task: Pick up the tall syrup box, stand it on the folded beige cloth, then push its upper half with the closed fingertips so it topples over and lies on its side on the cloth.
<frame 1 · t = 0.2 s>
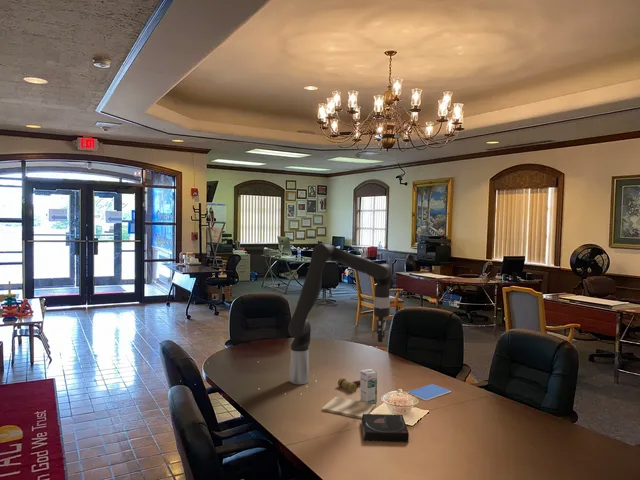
hand: (381, 339, 219), 28 cm above the table, fingers open, 8 cm apart
tablet computer: (429, 394, 226), on the table
portable cd player: (383, 433, 184), on the table
gavel: (359, 386, 235), on the table
folded beige cloth: (349, 408, 206), on the table
syrup box: (368, 401, 215), on the table
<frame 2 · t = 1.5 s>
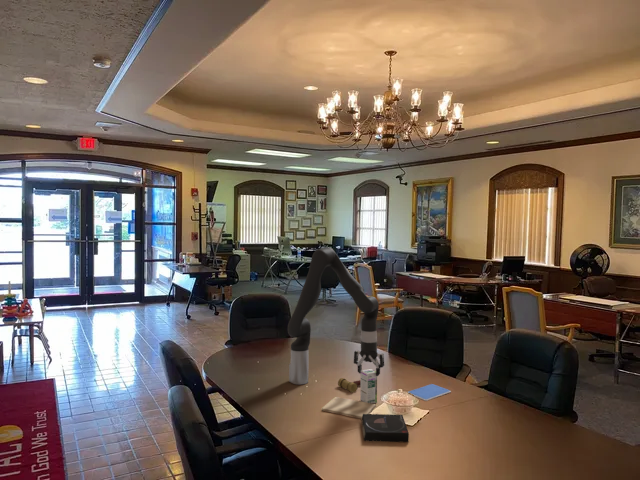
hand: (368, 374, 214), 13 cm above the table, fingers open, 8 cm apart
nothing on the table moved.
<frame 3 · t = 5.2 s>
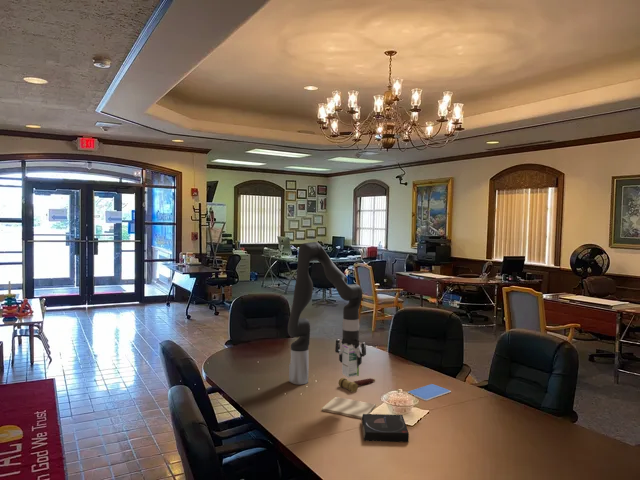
hand: (350, 363, 209), 19 cm above the table, fingers closed on syrup box, 8 cm apart
syrup box: (350, 375, 209), point 14 cm above the table, touching gripper
when the fingers open (7 cm above the table, at t = 8.1 s): syrup box stays where it is, resting on folded beige cloth.
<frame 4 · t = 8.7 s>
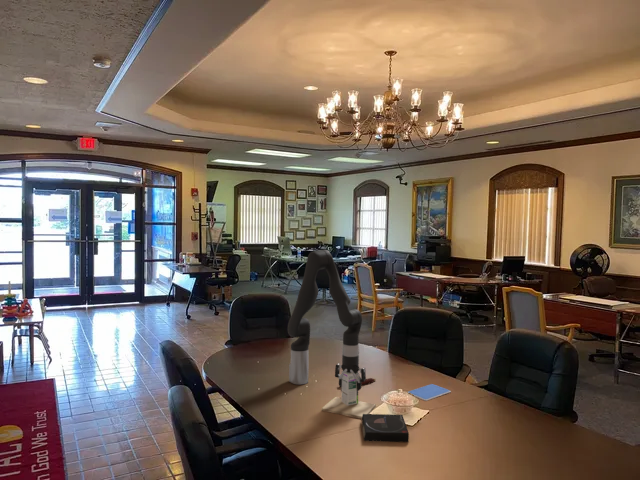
hand: (350, 388, 210), 8 cm above the table, fingers open, 8 cm apart
syrup box: (349, 403, 210), point 1 cm above the table, touching gripper, folded beige cloth
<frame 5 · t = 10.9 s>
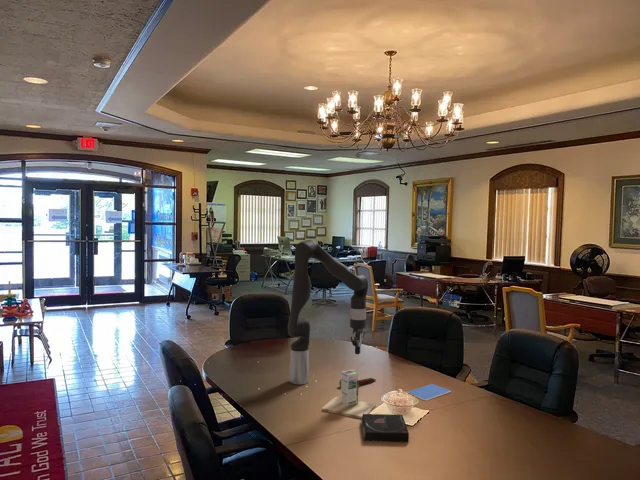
hand: (357, 353, 217), 21 cm above the table, fingers closed
syrup box: (349, 403, 210), point 1 cm above the table, touching folded beige cloth
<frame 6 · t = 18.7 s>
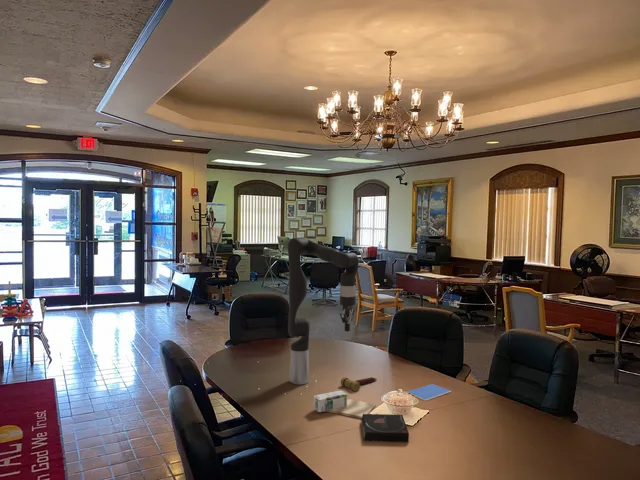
hand: (347, 331, 218), 32 cm above the table, fingers closed
syrup box: (344, 398, 208), point 4 cm above the table, touching folded beige cloth
at the end: syrup box tilted 90°; syrup box inside the target area (7.7 cm from its centre), point 3.8 cm above the table; the gripper is holding nothing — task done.
